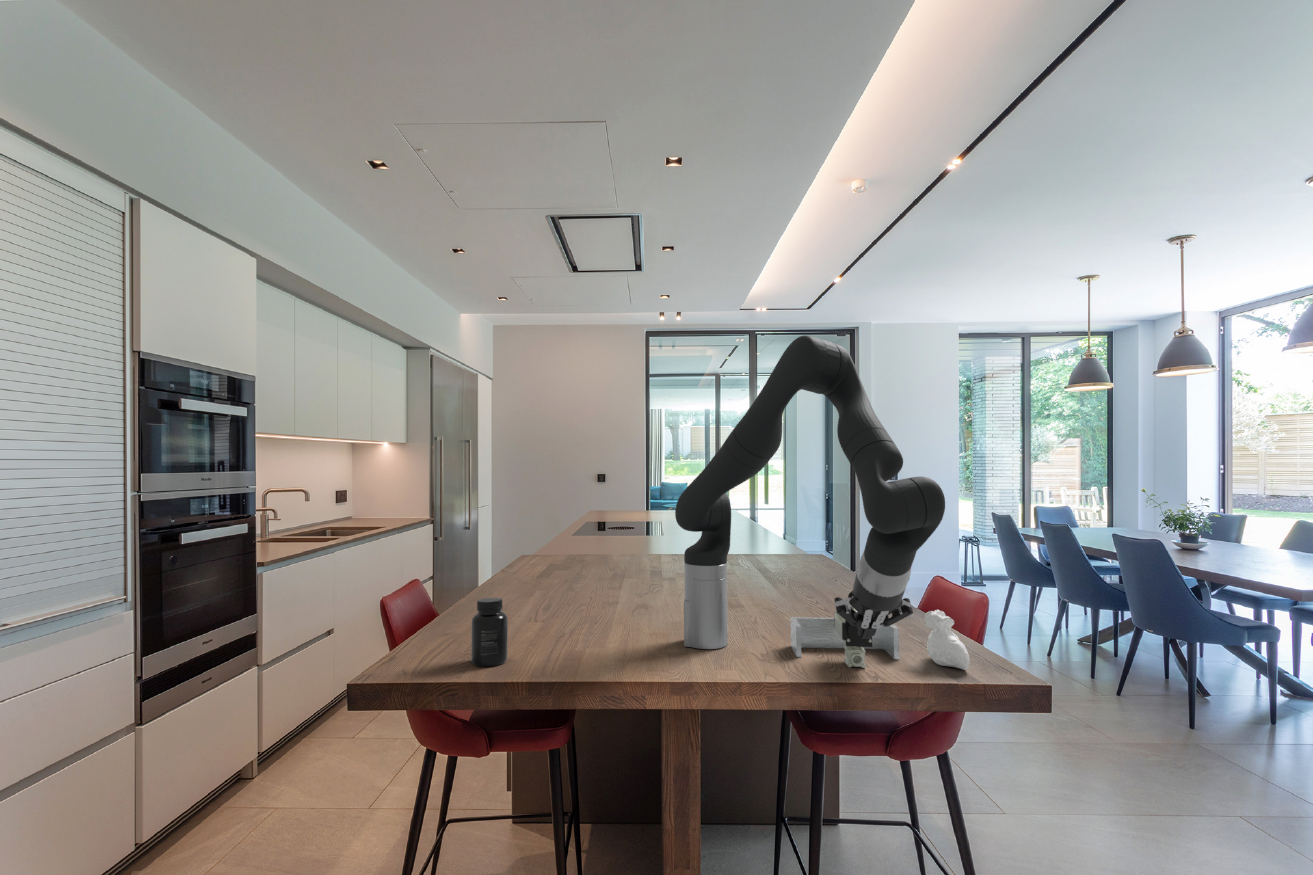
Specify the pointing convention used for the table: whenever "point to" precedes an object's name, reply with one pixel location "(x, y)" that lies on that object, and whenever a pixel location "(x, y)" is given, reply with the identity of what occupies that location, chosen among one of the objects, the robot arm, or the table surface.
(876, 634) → the cradle
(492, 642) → the supplement bottle
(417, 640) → the table surface
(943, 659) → the bust
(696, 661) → the table surface
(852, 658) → the pneumatic valve
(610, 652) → the table surface
